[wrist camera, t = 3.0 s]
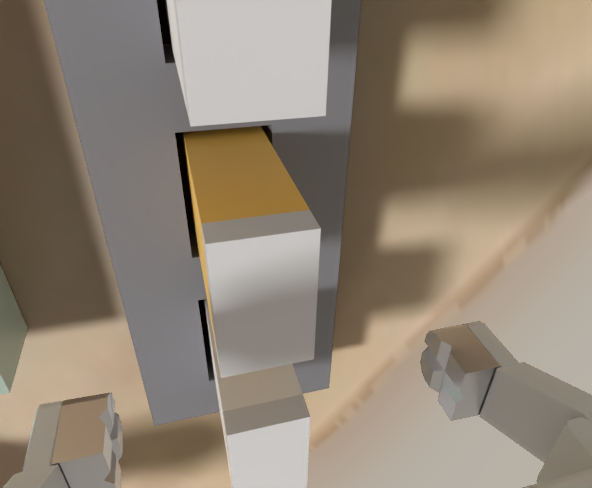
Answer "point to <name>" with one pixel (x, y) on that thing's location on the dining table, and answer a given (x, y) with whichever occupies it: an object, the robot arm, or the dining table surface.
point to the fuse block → (169, 193)
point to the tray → (9, 334)
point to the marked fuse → (253, 250)
